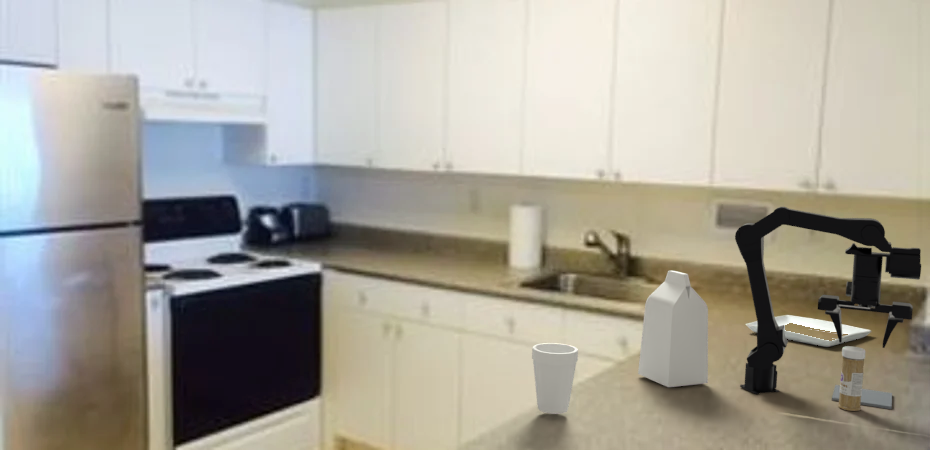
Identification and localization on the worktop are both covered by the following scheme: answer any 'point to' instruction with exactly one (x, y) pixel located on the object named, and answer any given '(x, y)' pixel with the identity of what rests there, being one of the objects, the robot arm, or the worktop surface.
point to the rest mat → (869, 398)
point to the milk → (675, 334)
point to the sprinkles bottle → (851, 378)
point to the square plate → (816, 324)
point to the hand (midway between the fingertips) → (861, 344)
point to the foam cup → (554, 375)
